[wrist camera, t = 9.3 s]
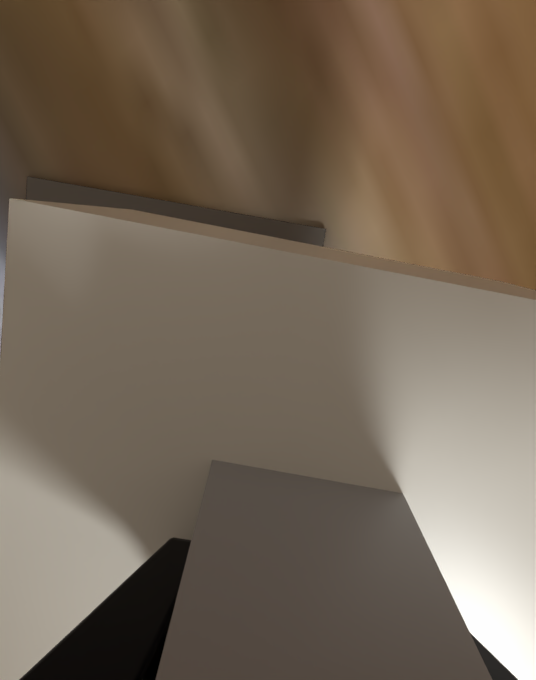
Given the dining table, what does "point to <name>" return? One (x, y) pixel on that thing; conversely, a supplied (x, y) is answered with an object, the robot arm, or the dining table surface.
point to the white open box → (265, 449)
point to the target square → (171, 210)
